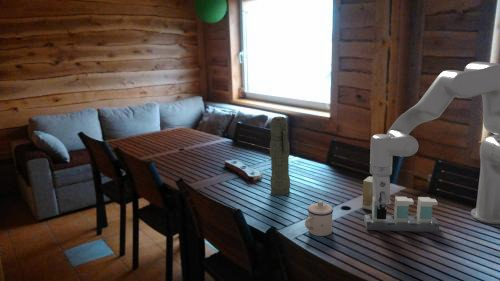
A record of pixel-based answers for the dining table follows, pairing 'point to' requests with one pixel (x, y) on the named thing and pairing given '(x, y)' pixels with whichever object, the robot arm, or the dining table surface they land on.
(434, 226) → the rail
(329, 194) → the dining table surface
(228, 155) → the dining table surface
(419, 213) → the cream block teal side
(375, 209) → the finger loose
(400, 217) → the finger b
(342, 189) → the dining table surface
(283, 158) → the thermos
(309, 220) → the teacup with lid
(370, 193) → the skincare box
